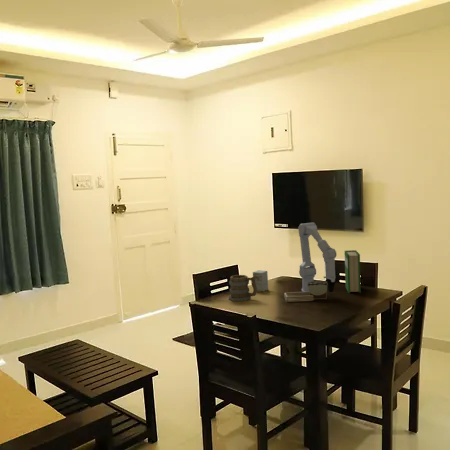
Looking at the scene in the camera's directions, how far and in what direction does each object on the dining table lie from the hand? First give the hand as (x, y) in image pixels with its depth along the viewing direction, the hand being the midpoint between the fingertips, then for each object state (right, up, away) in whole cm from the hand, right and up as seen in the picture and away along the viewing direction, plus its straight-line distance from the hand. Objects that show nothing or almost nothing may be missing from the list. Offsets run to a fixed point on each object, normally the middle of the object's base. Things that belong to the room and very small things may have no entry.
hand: (331, 291), depth 289 cm
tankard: (-51, -6, +8) cm, 52 cm away
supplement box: (-40, -3, +30) cm, 50 cm away
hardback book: (+18, -1, +18) cm, 25 cm away
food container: (-7, -4, +1) cm, 8 cm away
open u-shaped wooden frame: (-19, -5, +1) cm, 19 cm away
